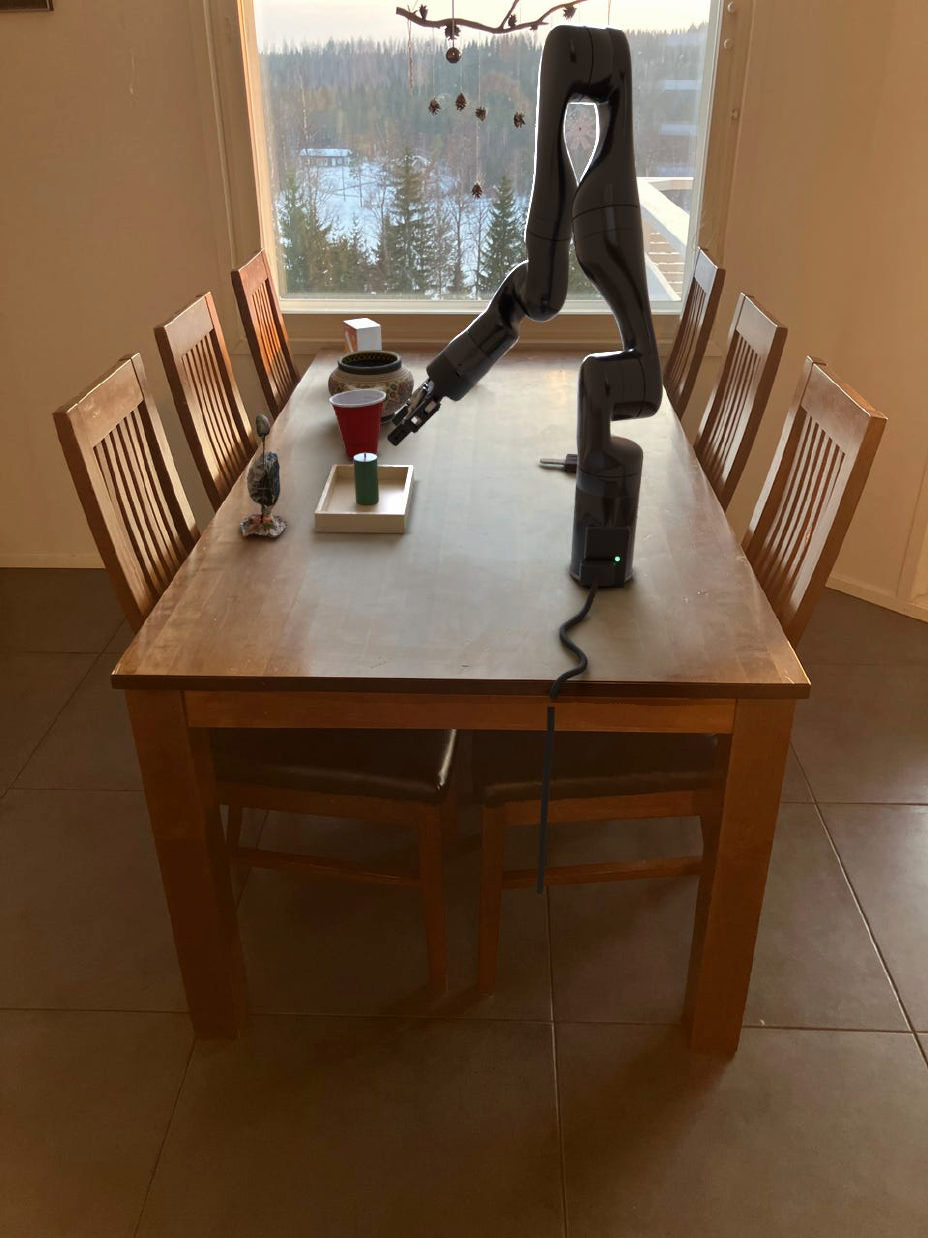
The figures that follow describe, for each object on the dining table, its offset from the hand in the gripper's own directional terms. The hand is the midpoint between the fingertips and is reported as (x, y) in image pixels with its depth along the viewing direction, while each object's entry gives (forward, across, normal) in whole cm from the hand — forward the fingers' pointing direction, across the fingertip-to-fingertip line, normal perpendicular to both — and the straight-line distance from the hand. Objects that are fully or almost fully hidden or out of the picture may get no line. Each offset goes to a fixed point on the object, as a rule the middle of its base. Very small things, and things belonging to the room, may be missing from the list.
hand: (392, 433), depth 163 cm
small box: (+19, -76, 0) cm, 78 cm away
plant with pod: (+24, +8, -5) cm, 26 cm away
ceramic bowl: (+15, -46, +3) cm, 49 cm away
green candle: (+12, -1, +5) cm, 13 cm away
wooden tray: (+13, 0, +6) cm, 14 cm away
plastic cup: (+16, -24, +3) cm, 29 cm away
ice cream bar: (-14, -19, +33) cm, 41 cm away
